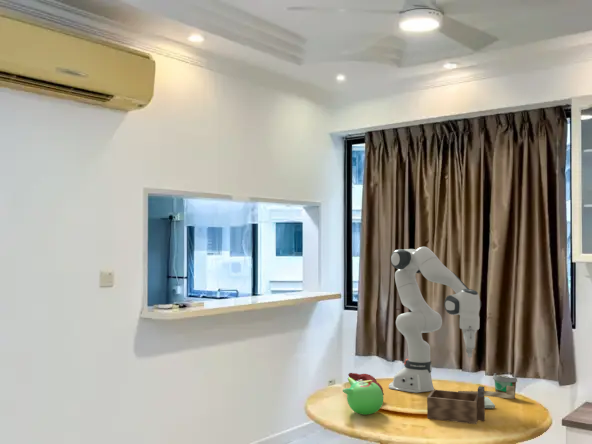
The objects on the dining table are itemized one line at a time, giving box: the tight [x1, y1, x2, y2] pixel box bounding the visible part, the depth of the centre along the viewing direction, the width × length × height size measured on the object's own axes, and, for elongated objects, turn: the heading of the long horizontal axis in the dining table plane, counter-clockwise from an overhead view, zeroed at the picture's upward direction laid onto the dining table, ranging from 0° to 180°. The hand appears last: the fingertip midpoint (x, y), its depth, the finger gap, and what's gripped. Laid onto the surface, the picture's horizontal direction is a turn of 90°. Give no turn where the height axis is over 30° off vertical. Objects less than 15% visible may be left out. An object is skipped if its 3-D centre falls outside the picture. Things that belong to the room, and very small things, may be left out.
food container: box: [492, 372, 518, 398], centre depth 289 cm, size 12×6×10 cm, turn 37°
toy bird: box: [342, 376, 384, 416], centre depth 262 cm, size 18×17×15 cm
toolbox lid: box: [457, 390, 496, 410], centre depth 276 cm, size 19×14×6 cm
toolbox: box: [426, 385, 486, 425], centre depth 257 cm, size 22×14×13 cm, turn 67°
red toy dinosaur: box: [348, 372, 385, 396], centre depth 292 cm, size 28×9×15 cm
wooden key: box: [483, 386, 516, 400], centre depth 250 cm, size 13×2×4 cm, turn 67°
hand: (468, 354), depth 277 cm, fingers open, 8 cm apart
